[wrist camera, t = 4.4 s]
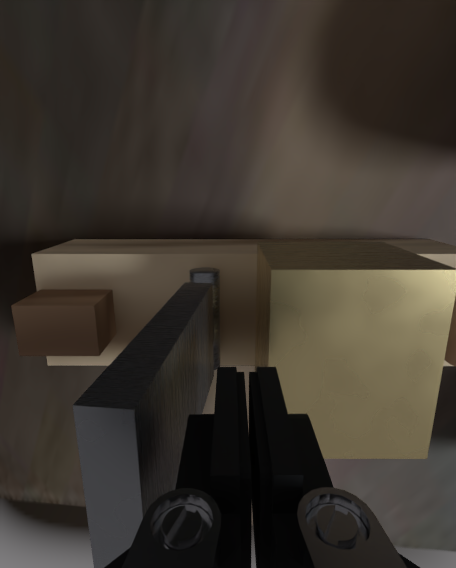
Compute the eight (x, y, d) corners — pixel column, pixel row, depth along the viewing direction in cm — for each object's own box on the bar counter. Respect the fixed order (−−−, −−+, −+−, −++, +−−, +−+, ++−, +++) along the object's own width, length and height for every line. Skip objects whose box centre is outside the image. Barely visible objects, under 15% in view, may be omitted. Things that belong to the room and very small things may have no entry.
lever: (192, 267, 17) (66, 395, 7) (221, 267, 17) (138, 400, 7) (195, 357, 19) (92, 586, 8) (222, 358, 18) (153, 594, 8)
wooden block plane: (74, 239, 22) (-9, 267, 15) (429, 239, 22) (535, 267, 14) (84, 329, 24) (15, 397, 16) (415, 329, 24) (505, 398, 16)
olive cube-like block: (257, 241, 17) (271, 269, 11) (382, 241, 17) (460, 269, 11) (254, 375, 19) (265, 458, 13) (367, 376, 19) (426, 458, 13)
